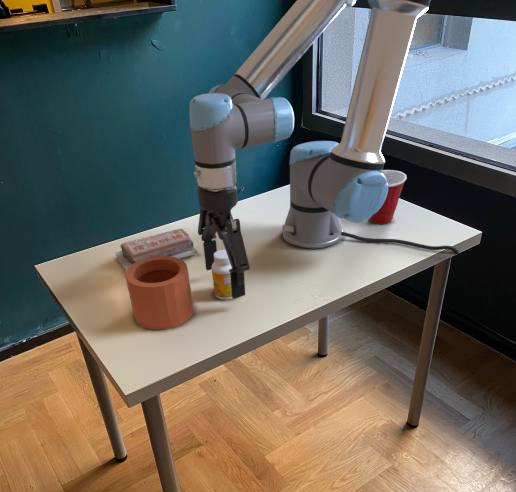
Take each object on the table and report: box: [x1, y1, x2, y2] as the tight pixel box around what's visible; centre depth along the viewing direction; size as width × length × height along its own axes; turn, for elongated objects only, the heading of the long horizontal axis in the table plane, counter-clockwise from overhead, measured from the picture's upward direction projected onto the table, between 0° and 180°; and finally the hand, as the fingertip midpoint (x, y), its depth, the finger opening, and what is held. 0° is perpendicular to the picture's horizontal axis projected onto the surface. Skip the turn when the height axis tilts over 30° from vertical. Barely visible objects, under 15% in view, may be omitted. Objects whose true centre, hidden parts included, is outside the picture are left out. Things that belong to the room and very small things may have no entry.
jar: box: [124, 256, 194, 331], centre depth 104 cm, size 12×12×10 cm
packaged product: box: [114, 228, 199, 272], centre depth 125 cm, size 18×5×10 cm
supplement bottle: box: [211, 249, 233, 301], centre depth 109 cm, size 5×5×10 cm
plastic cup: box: [369, 169, 408, 225], centre depth 135 cm, size 11×11×12 cm
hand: (224, 281), depth 110 cm, fingers open, 13 cm apart
